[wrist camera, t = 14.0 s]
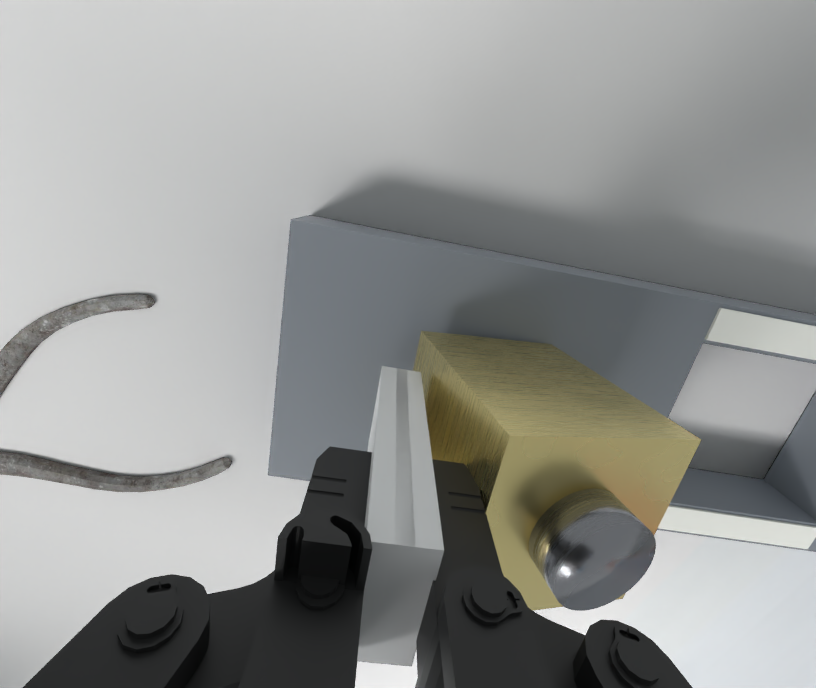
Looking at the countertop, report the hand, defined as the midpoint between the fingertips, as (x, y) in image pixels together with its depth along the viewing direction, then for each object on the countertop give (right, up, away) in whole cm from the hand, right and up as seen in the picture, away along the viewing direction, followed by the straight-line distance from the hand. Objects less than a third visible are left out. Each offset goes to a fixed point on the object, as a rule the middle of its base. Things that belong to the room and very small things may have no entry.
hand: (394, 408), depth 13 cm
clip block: (+3, 0, +2) cm, 3 cm away
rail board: (+8, 0, +6) cm, 10 cm away
